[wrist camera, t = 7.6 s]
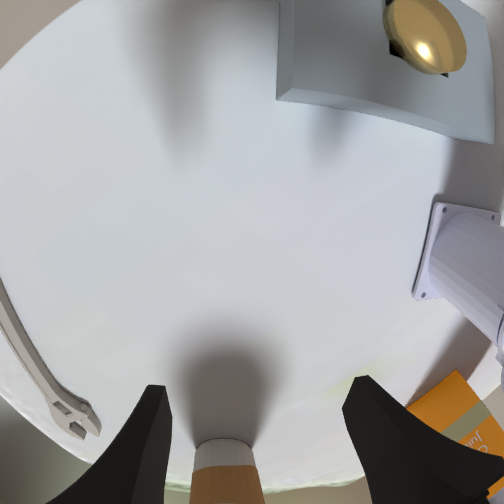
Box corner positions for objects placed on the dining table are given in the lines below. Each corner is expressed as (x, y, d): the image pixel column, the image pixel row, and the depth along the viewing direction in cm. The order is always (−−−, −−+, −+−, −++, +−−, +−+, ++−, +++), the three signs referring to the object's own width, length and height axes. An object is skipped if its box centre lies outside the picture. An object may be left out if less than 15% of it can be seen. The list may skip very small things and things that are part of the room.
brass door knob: (412, 34, 13) (462, 16, 8) (412, 92, 15) (468, 85, 9) (352, 10, 12) (394, -23, 7) (350, 70, 14) (398, 49, 9)
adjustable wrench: (-30, 230, 15) (-42, 236, 13) (11, 216, 15) (-2, 223, 14) (69, 426, 24) (66, 436, 23) (112, 432, 25) (109, 444, 23)
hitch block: (452, 27, 12) (484, 17, 9) (456, 139, 16) (494, 144, 12) (280, -32, 11) (294, -64, 7) (275, 100, 14) (292, 88, 11)
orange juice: (460, 390, 29) (523, 484, 10) (412, 427, 30) (463, 529, 12) (456, 367, 26) (535, 479, 7) (399, 411, 27) (462, 535, 9)
